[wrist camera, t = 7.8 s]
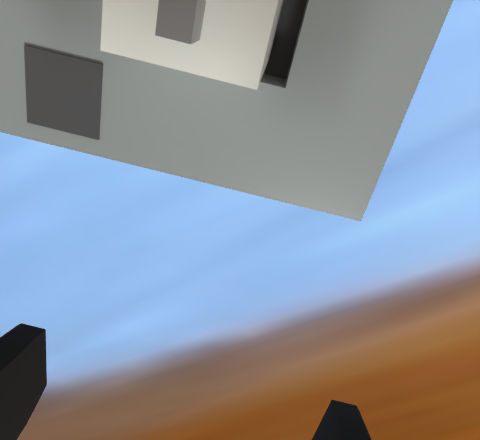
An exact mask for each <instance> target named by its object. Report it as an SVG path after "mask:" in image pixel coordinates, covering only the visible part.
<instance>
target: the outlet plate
mask: <svg viewBox="0 0 480 440" xmlns="http://www.w3.org/2000/svg"><path fill="white" fill-rule="evenodd" d="M452 2H453V0H283V4H282V8H281V12H280V16H279V20H278V25H277V29H276V33H275V37H274V41H273V45H272V49H271V54H270V58H269V60H268V63H267V66H266V68H265V71H264V73H263V76H262V79H261V81H260V84H259V86H258V89H257V90H255V89H251V88H247V87H243V86H239V85H235V84H231V83H227V82H223V81H219V80H215V79H211V78H207V77H203V76H199V75H195V74H192V73H188V72H184V71H180V70H176V69H172V68H168V67H164V66H160V65H156V64H152V63H148V62H144V61H140V60H136V59H132V58H128V57H124V56H120V55H116V54H112V53H108V52H104V51H100V46H101V26H102V5H103V0H0V132H3V133H7V134H11V135H15V136H19V137H23V138H27V139H31V140H35V141H39V142H43V143H47V144H51V145H55V146H59V147H63V148H67V149H72V150H76V151H80V152H84V153H88V154H92V155H96V156H100V157H104V158H108V159H112V160H116V161H120V162H124V163H128V164H132V165H136V166H140V167H144V168H148V169H152V170H156V171H160V172H164V173H168V174H173V175H177V176H181V177H185V178H189V179H193V180H197V181H201V182H205V183H209V184H213V185H217V186H221V187H225V188H229V189H233V190H237V191H241V192H245V193H249V194H253V195H257V196H261V197H265V198H269V199H273V200H278V201H282V202H286V203H290V204H294V205H298V206H302V207H306V208H310V209H314V210H318V211H322V212H326V213H330V214H334V215H338V216H342V217H346V218H350V219H354V220H358V221H361V220H362V217H363V215H364V212H365V210H366V208H367V205H368V203H369V200H370V198H371V196H372V193H373V191H374V188H375V186H376V184H377V181H378V179H379V176H380V174H381V172H382V169H383V167H384V164H385V162H386V160H387V157H388V155H389V152H390V150H391V148H392V145H393V143H394V140H395V138H396V136H397V133H398V131H399V129H400V126H401V124H402V121H403V119H404V117H405V114H406V112H407V109H408V107H409V105H410V102H411V100H412V97H413V95H414V93H415V90H416V88H417V85H418V83H419V81H420V78H421V76H422V73H423V71H424V69H425V66H426V64H427V61H428V59H429V57H430V54H431V52H432V49H433V47H434V45H435V42H436V40H437V38H438V35H439V33H440V30H441V28H442V26H443V23H444V21H445V18H446V16H447V14H448V11H449V9H450V6H451V4H452Z"/></svg>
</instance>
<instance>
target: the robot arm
mask: <svg viewBox="0 0 480 440" xmlns="http://www.w3.org/2000/svg"><path fill="white" fill-rule="evenodd" d="M46 385H47V376H46V332H45V329H42V328H38V327H34V326H30V325H26V324H19V325H17V326H16V327H14V328H13V329H12V330H10V331H9V332H7V333H6V334H5V335H3V336H2V337H0V440H17V438H18V436H19V435H20V433H21V432H22V430H23V429H24V427H25V426H26V424H27V422H28V420H29V418H30V416H31V414H32V412H33V411H34V409H35V407H36V405H37V403H38V401H39V399H40V397H41V395H42V393H43V391H44V389H45V387H46ZM312 440H371V437H370V435H369V433H368V430H367V428H366V426H365V423H364V421H363V419H362V416H361V414H360V412H359V409H358V408H357V406H355V405H351V404H347V403H343V402H339V401H335V400H332V401H331V403H330V405H329V407H328V409H327V411H326V413H325V415H324V417H323V419H322V421H321V423H320V425H319V427H318V429H317V431H316V433H315V435H314V437H313V439H312Z"/></svg>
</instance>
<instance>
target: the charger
mask: <svg viewBox="0 0 480 440" xmlns="http://www.w3.org/2000/svg"><path fill="white" fill-rule="evenodd" d="M282 4H283V0H103V5H102V26H101V46H100V51H104V52H108V53H112V54H116V55H120V56H124V57H128V58H132V59H136V60H140V61H144V62H148V63H152V64H156V65H160V66H164V67H168V68H172V69H176V70H180V71H184V72H188V73H192V74H195V75H199V76H203V77H207V78H211V79H215V80H219V81H223V82H227V83H231V84H235V85H239V86H243V87H247V88H251V89H255V90H257V89H258V86H259V84H260V81H261V79H262V76H263V73H264V71H265V68H266V66H267V63H268V60H269V58H270V54H271V49H272V45H273V41H274V37H275V33H276V29H277V25H278V20H279V16H280V12H281V8H282Z"/></svg>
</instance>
